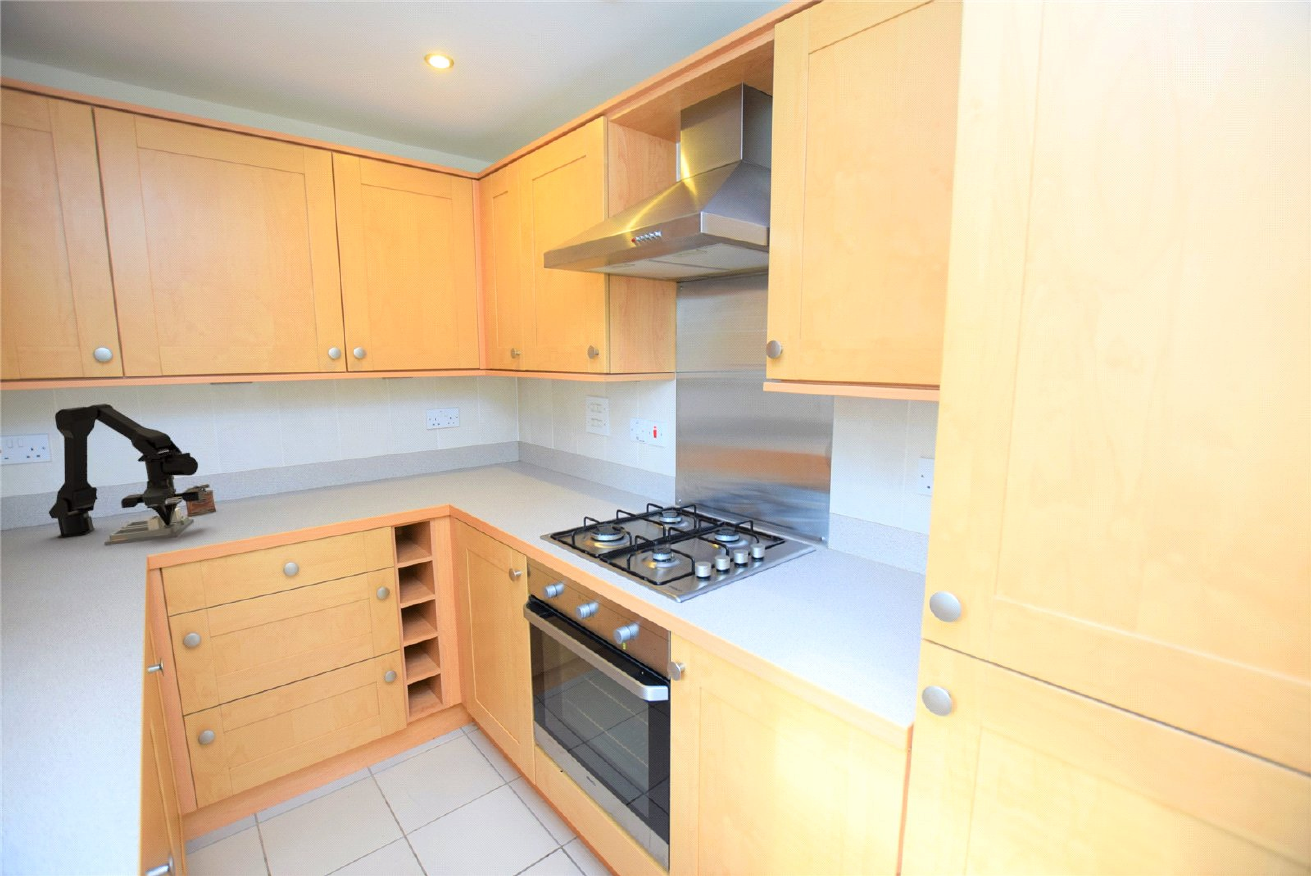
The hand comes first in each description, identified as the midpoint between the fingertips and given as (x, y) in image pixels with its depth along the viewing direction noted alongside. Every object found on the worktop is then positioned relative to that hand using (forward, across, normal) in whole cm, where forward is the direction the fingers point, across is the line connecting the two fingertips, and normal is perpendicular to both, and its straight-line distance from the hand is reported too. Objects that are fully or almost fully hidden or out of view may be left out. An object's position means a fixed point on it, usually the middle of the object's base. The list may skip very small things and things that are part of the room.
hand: (168, 525), depth 180 cm
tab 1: (+2, -3, 0) cm, 3 cm away
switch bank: (+3, -6, +4) cm, 7 cm away
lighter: (+3, +2, +22) cm, 22 cm away
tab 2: (+2, -1, +8) cm, 8 cm away
